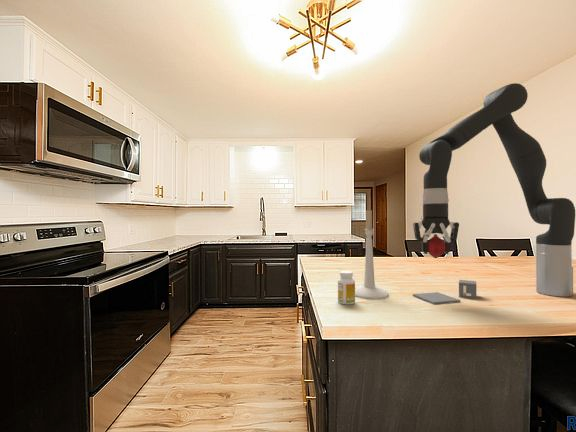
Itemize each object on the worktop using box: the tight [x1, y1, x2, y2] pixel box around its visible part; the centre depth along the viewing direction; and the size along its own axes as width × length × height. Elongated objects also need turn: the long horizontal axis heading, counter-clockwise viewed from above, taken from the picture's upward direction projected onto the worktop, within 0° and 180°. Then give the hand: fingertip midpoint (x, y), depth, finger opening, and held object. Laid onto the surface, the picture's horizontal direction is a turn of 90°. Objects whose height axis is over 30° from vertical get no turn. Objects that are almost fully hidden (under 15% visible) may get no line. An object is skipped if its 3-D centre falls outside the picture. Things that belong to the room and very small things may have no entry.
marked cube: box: [458, 279, 477, 300], centre depth 100 cm, size 5×5×5 cm
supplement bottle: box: [337, 270, 356, 305], centre depth 94 cm, size 5×5×10 cm
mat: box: [412, 291, 461, 305], centre depth 98 cm, size 10×10×1 cm
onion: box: [427, 233, 446, 259], centre depth 98 cm, size 6×6×8 cm
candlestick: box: [355, 209, 390, 300], centre depth 104 cm, size 13×13×30 cm
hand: (435, 253), depth 98 cm, fingers closed on onion, 5 cm apart
